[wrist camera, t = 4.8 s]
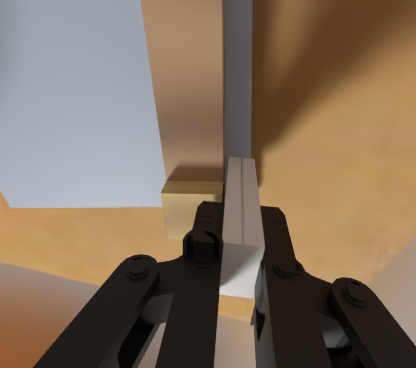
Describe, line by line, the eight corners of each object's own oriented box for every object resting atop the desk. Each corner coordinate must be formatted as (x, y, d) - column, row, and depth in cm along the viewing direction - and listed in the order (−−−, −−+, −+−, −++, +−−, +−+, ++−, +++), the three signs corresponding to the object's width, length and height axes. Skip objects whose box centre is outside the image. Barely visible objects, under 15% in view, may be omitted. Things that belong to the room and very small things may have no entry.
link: (96, -276, 8) (4, -478, 5) (255, -305, 7) (269, -552, 4) (167, 200, 17) (151, 238, 14) (239, 202, 16) (239, 242, 13)
